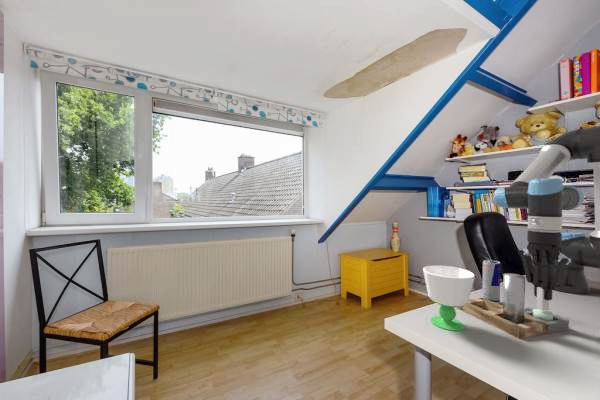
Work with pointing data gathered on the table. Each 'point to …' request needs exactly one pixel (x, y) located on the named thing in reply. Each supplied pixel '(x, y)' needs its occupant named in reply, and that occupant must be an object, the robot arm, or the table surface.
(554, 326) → the button housing
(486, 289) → the beverage can
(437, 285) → the cup
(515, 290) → the billet
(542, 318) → the button
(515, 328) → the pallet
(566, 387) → the table surface
